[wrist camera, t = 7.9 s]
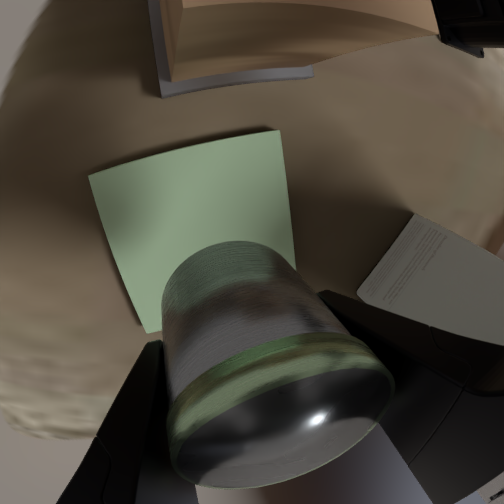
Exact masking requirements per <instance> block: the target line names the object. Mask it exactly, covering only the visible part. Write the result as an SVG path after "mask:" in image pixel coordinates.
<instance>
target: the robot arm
mask: <svg viewBox="0 0 504 504" xmlns="http://www.w3.org/2000/svg"><path fill="white" fill-rule="evenodd" d="M432 2H433V6H434V9H435V13H436V17H437V21H438V25H439V29H440V33H441V38H442V40H443V42H444V43H445V44H446V45H449V46H451V47H454V48H456V49H459V50H461V51H464V52H466V53H469V54H471V55H473V56H476V57H478V58H484V52H483V48H504V0H432ZM316 294H317V296H318V297H319V298H320V299H321V300H322V301H323V302H324V304H325V305H326V306H327V307H328V308H329V309H330V310H331V312H332V313H333V314H334V315H335V316H336V317H337V319H338V320H339V321H340V322H341V323H342V324H343V326H344V327H345V328H346V329H347V330H348V331H349V333H350V334H351V335H352V336H353V337H356V338H358V339H359V340H361V341H363V342H364V343H365V344H366V345H367V346H368V347H369V348H370V349H371V350H372V352H373V353H374V354H375V355H376V356H377V357H378V358H379V360H380V361H381V362H382V363H383V364H384V365H385V367H386V368H387V369H388V370H389V371H390V372H391V374H392V376H393V378H394V381H395V392H394V396H393V399H392V401H391V403H390V406H389V407H388V409H387V411H386V412H385V414H384V415H383V417H382V418H381V419H380V421H379V422H378V423H379V424H380V426H381V427H382V428H383V430H384V431H385V433H386V434H387V436H388V437H389V439H390V440H391V442H392V443H393V445H394V446H395V448H396V449H397V451H398V452H399V454H400V455H401V456H402V458H403V459H404V461H405V462H406V464H407V465H408V467H409V469H410V470H411V472H412V473H413V475H414V476H415V477H416V479H417V480H418V482H419V483H420V485H421V486H422V488H423V489H424V491H425V492H426V494H427V495H428V497H429V498H430V500H431V501H432V503H433V504H454V503H456V502H458V501H460V500H461V499H463V498H465V497H467V496H468V495H470V494H471V493H473V492H474V491H476V490H477V491H478V493H479V494H480V496H481V497H482V498H483V500H484V501H485V502H486V504H504V346H503V345H499V344H494V343H490V342H486V341H481V340H477V339H473V338H469V337H465V336H462V335H458V334H454V333H451V332H448V331H445V330H442V329H439V328H436V327H433V326H430V327H429V325H427V324H424V323H421V322H418V321H415V320H413V319H410V318H407V317H404V316H401V315H398V314H395V313H392V312H389V311H387V310H384V309H381V308H378V307H375V306H372V305H370V304H367V303H364V302H361V301H358V300H355V299H352V298H350V297H347V296H344V295H341V294H338V293H336V292H333V291H330V290H324V291H321V292H318V293H316ZM168 412H169V406H168V397H167V388H166V377H165V366H164V353H163V342H162V341H161V340H155V341H151V342H148V343H146V345H145V347H144V348H143V350H142V352H141V353H140V355H139V357H138V359H137V360H136V362H135V364H134V366H133V368H132V369H131V371H130V373H129V375H128V376H127V378H126V380H125V382H124V384H123V385H122V387H121V389H120V391H119V393H118V394H117V396H116V398H115V400H114V402H113V404H112V406H111V407H110V409H109V411H108V413H107V415H106V417H105V419H104V421H103V422H102V424H101V426H100V428H99V430H98V432H97V434H96V436H97V437H95V438H94V439H93V441H92V444H91V446H90V448H89V449H88V451H87V453H86V455H85V457H84V459H83V461H82V462H81V464H80V466H79V467H78V469H77V471H76V472H75V474H74V476H73V477H72V479H71V480H70V482H69V484H68V485H67V487H66V488H65V490H64V491H63V493H62V495H61V496H60V498H59V499H58V501H57V503H56V504H199V503H198V498H197V493H196V488H195V484H193V483H191V482H188V481H186V480H185V479H183V478H182V477H180V476H179V475H178V474H177V473H176V472H175V471H174V469H173V467H172V464H171V458H170V452H169V445H168V438H167V430H166V419H167V414H168Z"/></svg>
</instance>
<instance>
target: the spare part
mask: <svg viewBox="0 0 504 504" xmlns="http://www.w3.org/2000/svg"><path fill="white" fill-rule="evenodd" d="M161 317H162V337H163V353H164V366H165V377H166V388H167V397H168V406H169V412H168V414H167V419H166V430H167V438H168V445H169V452H170V458H171V464H172V467H173V469H174V471H175V472H176V473H177V474H178V475H179V476H180V477H182V478H183V479H185V480H186V481H188V482H191V483H193V484H196V485H199V486H204V487H208V488H215V489H247V488H255V487H261V486H266V485H271V484H275V483H279V482H282V481H286V480H289V479H292V478H295V477H298V476H300V475H303V474H305V473H308V472H310V471H312V470H314V469H317V468H318V467H321V466H322V465H324V464H326V463H328V462H330V461H331V460H333V459H335V458H336V457H338V456H340V455H341V454H343V453H344V452H346V451H347V450H349V449H350V448H351V447H352V446H353V445H355V444H357V443H358V442H359V441H360V440H361V439H362V438H363V437H365V436H366V435H367V434H368V433H369V432H370V431H371V430H372V429H373V428H374V427H375V425H376V424H377V423H378V422H379V421H380V419H381V418H382V417H383V415H384V414H385V412H386V411H387V409H388V407H389V406H390V403H391V401H392V399H393V396H394V392H395V381H394V378H393V376H392V374H391V372H390V371H389V370H388V369H387V368H386V367H385V365H384V364H383V363H382V362H381V361H380V360H379V358H378V357H377V356H376V355H375V354H374V353H373V352H372V350H371V349H370V348H369V347H368V346H367V345H366V344H365V343H364V342H363V341H361V340H359V339H358V338H356V337H353V336H352V335H351V334H350V333H349V331H348V330H347V329H346V328H345V327H344V326H343V324H342V323H341V322H340V321H339V320H338V319H337V317H336V316H335V315H334V314H333V313H332V312H331V310H330V309H329V308H328V307H327V306H326V305H325V304H324V302H323V301H322V300H321V299H320V298H319V297H318V296H317V294H316V293H315V292H314V291H313V290H312V289H311V288H310V286H309V285H308V284H307V283H306V282H305V281H304V280H303V278H302V277H301V276H300V275H299V274H298V273H297V272H296V271H295V269H294V268H293V267H292V266H291V265H290V264H289V263H288V261H287V260H286V259H285V258H284V257H283V256H282V255H281V254H279V253H278V252H276V251H275V250H273V249H271V248H269V247H267V246H265V245H262V244H259V243H255V242H250V241H227V242H222V243H217V244H214V245H211V246H208V247H206V248H204V249H202V250H200V251H198V252H196V253H194V254H193V255H191V256H190V257H188V258H187V259H186V260H185V261H184V262H182V263H181V264H180V265H179V266H178V268H177V269H176V270H175V271H174V272H173V274H172V275H171V277H170V278H169V280H168V282H167V284H166V286H165V289H164V292H163V295H162V301H161Z"/></svg>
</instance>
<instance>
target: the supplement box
mask: <svg viewBox="0 0 504 504" xmlns="http://www.w3.org/2000/svg"><path fill="white" fill-rule="evenodd" d="M357 295H358V296H359V297H360V298H361V299H362V300H363V301H364V302H365V303H367V304H370V305H372V306H375V307H378V308H381V309H384V310H387V311H389V312H392V313H395V314H398V315H401V316H404V317H407V318H410V319H413V320H415V321H418V322H421V323H424V324H427V325H429V327H430V326H433V327H436V328H439V329H442V330H445V331H448V332H451V333H454V334H458V335H462V336H465V337H469V338H473V339H477V340H481V341H486V342H490V343H494V344H499V345H503V346H504V261H503V260H502V259H500V258H498V257H497V256H495V255H493V254H492V253H490V252H488V251H487V250H485V249H483V248H481V247H480V246H478V245H476V244H474V243H472V242H471V241H469V240H467V239H465V238H463V237H461V236H459V235H458V234H456V233H454V232H452V231H450V230H448V229H446V228H444V227H442V226H440V225H438V224H436V223H434V222H432V221H430V220H428V219H426V218H424V217H422V216H420V215H418V214H414V215H413V217H412V218H411V219H410V221H409V222H408V224H407V225H406V226H405V228H404V229H403V231H402V232H401V234H400V235H399V236H398V238H397V239H396V240H395V242H394V243H393V244H392V246H391V247H390V249H389V250H388V251H387V252H386V254H385V255H384V256H383V258H382V259H381V260H380V262H379V263H378V264H377V266H376V267H375V268H374V269H373V271H372V272H371V273H370V275H369V276H368V277H367V278H366V279H365V281H364V282H363V283H362V285H361V286H360V287H359V289H358V290H357Z"/></svg>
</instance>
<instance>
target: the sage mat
mask: <svg viewBox="0 0 504 504" xmlns="http://www.w3.org/2000/svg"><path fill="white" fill-rule="evenodd" d="M88 178H89V181H90V185H91V189H92V192H93V196H94V199H95V202H96V206H97V209H98V212H99V215H100V218H101V221H102V224H103V227H104V230H105V233H106V236H107V239H108V242H109V245H110V248H111V250H112V253H113V256H114V258H115V261H116V264H117V266H118V269H119V271H120V274H121V276H122V279H123V281H124V284H125V286H126V289H127V291H128V293H129V296H130V298H131V300H132V303H133V305H134V307H135V309H136V312H137V314H138V316H139V318H140V320H141V322H142V325H143V327H144V329H145V331H146V333H147V334H148V333H152V332H156V331H160V330H162V317H161V301H162V295H163V292H164V289H165V286H166V284H167V282H168V280H169V278H170V277H171V275H172V274H173V272H174V271H175V270H176V269H177V268H178V266H179V265H180V264H181V263H182V262H184V261H185V260H186V259H187V258H188V257H190V256H191V255H193V254H194V253H196V252H198V251H200V250H202V249H204V248H206V247H208V246H211V245H214V244H217V243H222V242H227V241H250V242H255V243H259V244H262V245H265V246H267V247H269V248H271V249H273V250H275V251H276V252H278V253H279V254H281V255H282V256H283V257H284V258H285V259H286V260H287V261H288V263H289V264H290V265H291V266H292V267H293V268H294V269H295V271H296V265H295V255H294V244H293V234H292V225H291V216H290V207H289V198H288V190H287V181H286V173H285V166H284V158H283V151H282V143H281V136H280V130H271V131H264V132H258V133H251V134H246V135H240V136H234V137H229V138H224V139H219V140H214V141H209V142H204V143H200V144H195V145H191V146H187V147H182V148H178V149H174V150H170V151H166V152H162V153H159V154H155V155H151V156H148V157H144V158H141V159H137V160H134V161H130V162H127V163H124V164H121V165H117V166H114V167H111V168H108V169H105V170H102V171H99V172H96V173H93V174H91V175H89V176H88Z"/></svg>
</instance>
